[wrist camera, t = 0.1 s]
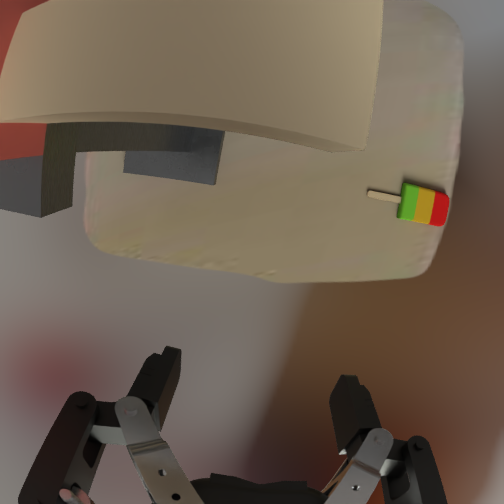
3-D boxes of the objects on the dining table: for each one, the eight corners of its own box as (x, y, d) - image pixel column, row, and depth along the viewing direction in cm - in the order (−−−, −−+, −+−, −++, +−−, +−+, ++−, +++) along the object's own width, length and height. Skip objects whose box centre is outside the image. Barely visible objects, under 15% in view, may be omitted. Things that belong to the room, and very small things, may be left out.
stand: (143, 83, 34) (-33, 17, 4) (233, 89, 34) (140, -69, 4) (127, 171, 38) (-65, 223, 8) (215, 184, 39) (62, 275, 8)
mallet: (-37, 62, 5) (-90, 61, 1) (353, 13, 5) (414, -74, 1) (-54, 158, 7) (-109, 173, 3) (322, 192, 7) (393, 243, 3)
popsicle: (439, 225, 39) (445, 228, 37) (362, 210, 39) (366, 213, 37) (445, 193, 37) (451, 195, 35) (368, 174, 37) (372, 175, 36)
